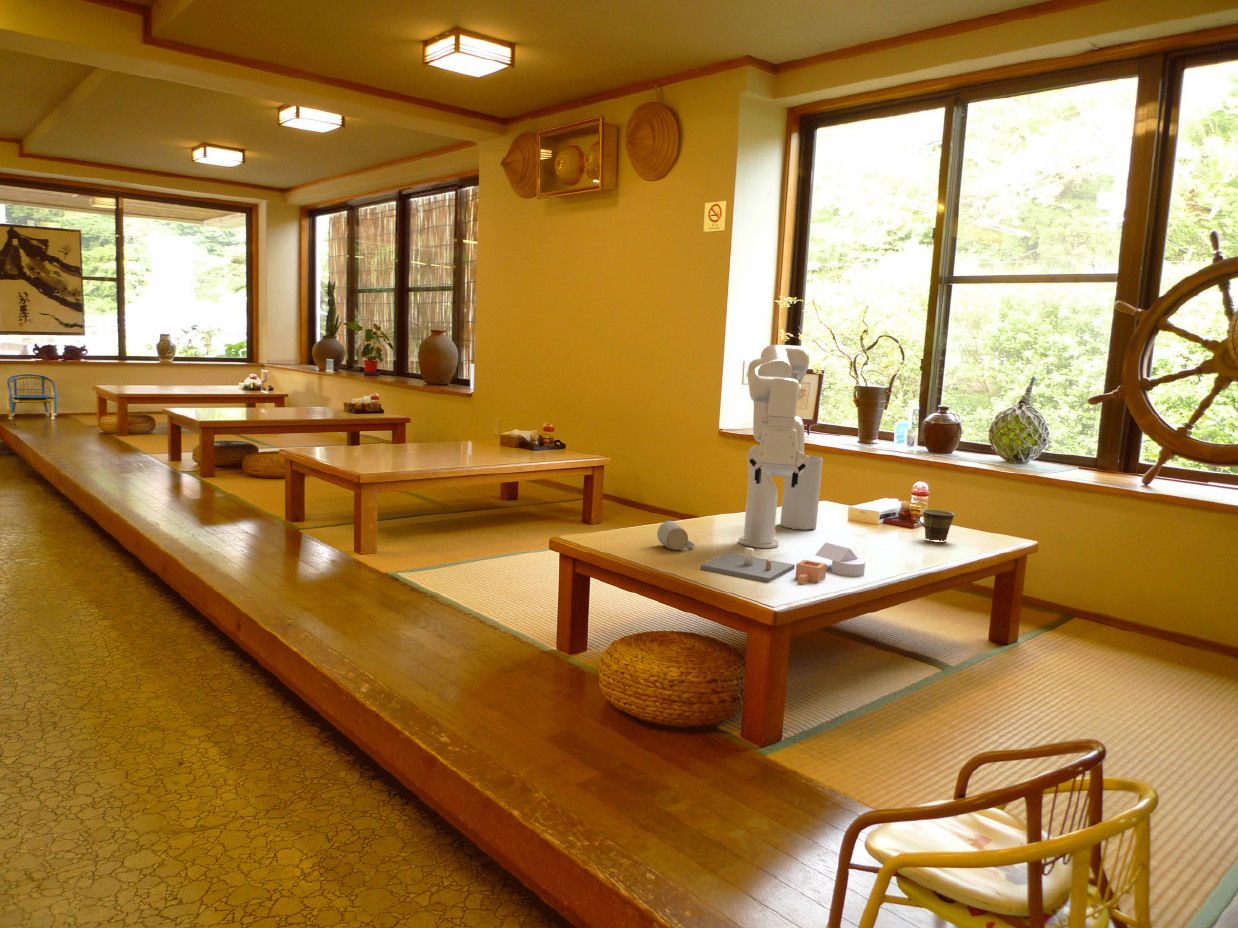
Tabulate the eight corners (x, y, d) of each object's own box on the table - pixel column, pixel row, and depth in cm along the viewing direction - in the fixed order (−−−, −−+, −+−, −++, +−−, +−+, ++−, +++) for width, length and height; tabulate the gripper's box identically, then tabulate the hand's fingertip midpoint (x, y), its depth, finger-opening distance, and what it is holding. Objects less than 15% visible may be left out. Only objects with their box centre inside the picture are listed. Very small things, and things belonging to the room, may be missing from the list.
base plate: (729, 556, 258) (730, 537, 257) (794, 568, 248) (796, 549, 247) (700, 568, 241) (701, 548, 240) (768, 582, 231) (770, 561, 230)
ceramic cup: (938, 537, 308) (941, 509, 307) (957, 543, 299) (960, 515, 297) (906, 537, 304) (909, 509, 302) (925, 544, 294) (928, 515, 293)
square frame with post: (802, 573, 243) (804, 559, 243) (825, 577, 240) (826, 563, 239) (789, 581, 233) (790, 566, 233) (812, 586, 230) (813, 571, 230)
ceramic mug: (666, 551, 259) (668, 526, 258) (655, 545, 267) (658, 520, 266) (698, 551, 263) (701, 526, 262) (687, 545, 270) (689, 520, 269)
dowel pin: (766, 568, 241) (767, 559, 241) (771, 569, 240) (772, 560, 240) (764, 569, 240) (765, 560, 240) (769, 570, 239) (770, 561, 239)
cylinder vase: (808, 532, 302) (815, 460, 299) (774, 526, 309) (780, 456, 305) (821, 527, 312) (827, 458, 309) (788, 521, 319) (794, 453, 316)
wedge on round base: (813, 566, 253) (851, 577, 243) (815, 543, 252) (853, 553, 242) (833, 563, 258) (870, 573, 248) (835, 540, 257) (872, 550, 247)
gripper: (747, 421, 239) (742, 483, 241) (811, 426, 234) (805, 490, 236) (752, 420, 246) (747, 480, 248) (814, 425, 241) (809, 487, 243)
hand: (775, 485), depth 242 cm, fingers open, 9 cm apart
